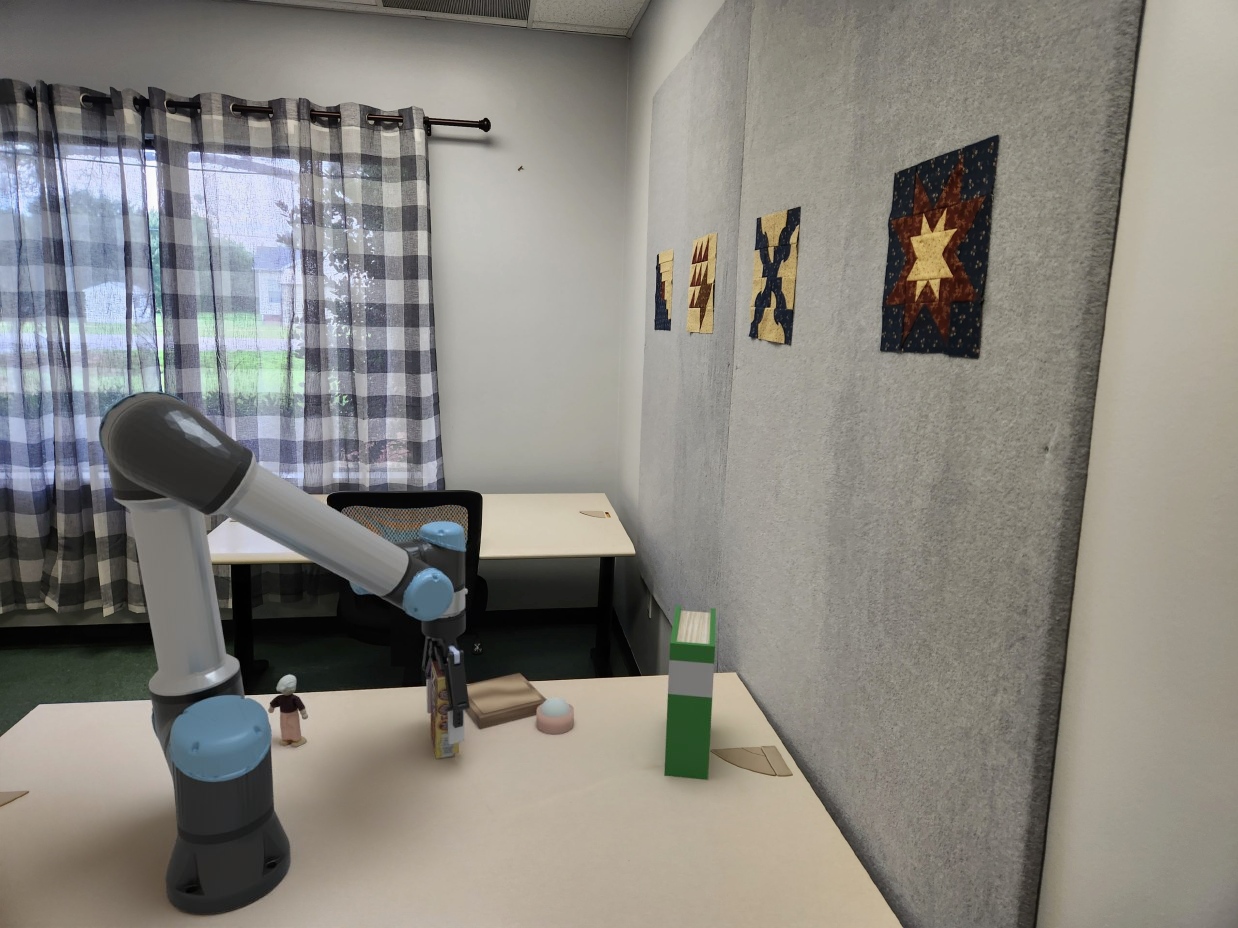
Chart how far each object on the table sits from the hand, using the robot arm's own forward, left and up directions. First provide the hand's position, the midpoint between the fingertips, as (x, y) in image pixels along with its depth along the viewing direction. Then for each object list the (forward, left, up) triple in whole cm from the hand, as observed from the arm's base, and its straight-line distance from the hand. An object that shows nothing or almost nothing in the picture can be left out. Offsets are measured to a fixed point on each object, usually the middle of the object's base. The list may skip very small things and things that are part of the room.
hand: (445, 725), depth 137 cm
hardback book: (-22, -38, -4) cm, 44 cm away
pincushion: (-4, -20, -3) cm, 21 cm away
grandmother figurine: (+14, +24, -4) cm, 28 cm away
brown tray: (+8, -14, -4) cm, 17 cm away
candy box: (0, 0, -4) cm, 4 cm away
